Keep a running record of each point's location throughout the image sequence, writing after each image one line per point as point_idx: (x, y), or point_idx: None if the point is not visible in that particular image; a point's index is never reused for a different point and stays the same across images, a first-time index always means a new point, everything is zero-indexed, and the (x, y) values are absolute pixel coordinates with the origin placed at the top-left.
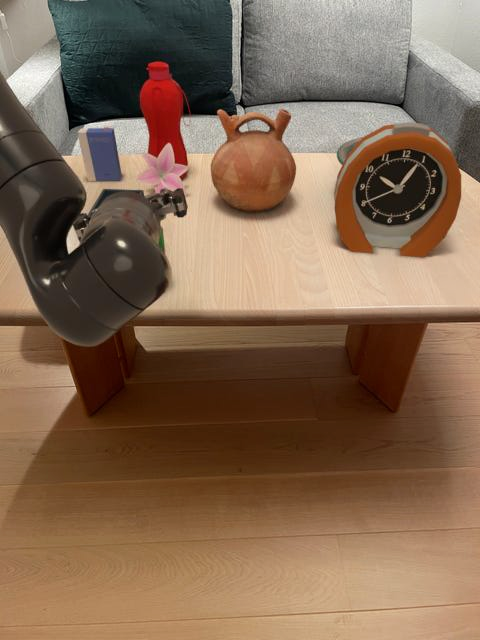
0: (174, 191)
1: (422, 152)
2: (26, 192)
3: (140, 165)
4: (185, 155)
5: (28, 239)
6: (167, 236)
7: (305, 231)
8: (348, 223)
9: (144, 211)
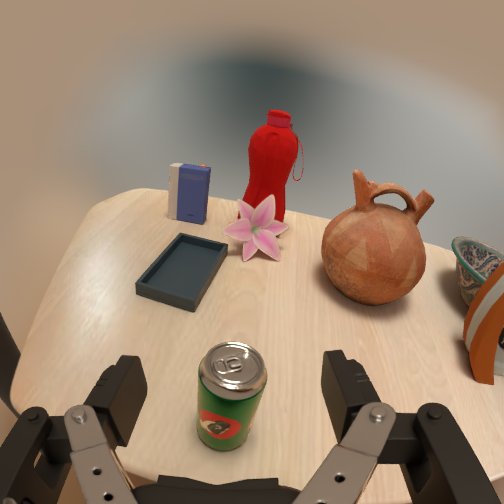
0: (428, 431)
1: None
2: None
3: (228, 211)
4: (283, 211)
5: None
6: (251, 326)
7: (428, 345)
8: (488, 352)
9: None
